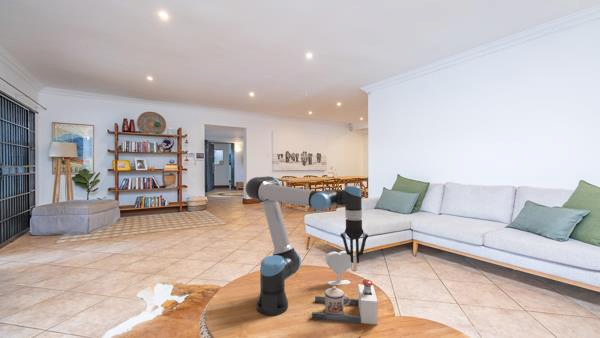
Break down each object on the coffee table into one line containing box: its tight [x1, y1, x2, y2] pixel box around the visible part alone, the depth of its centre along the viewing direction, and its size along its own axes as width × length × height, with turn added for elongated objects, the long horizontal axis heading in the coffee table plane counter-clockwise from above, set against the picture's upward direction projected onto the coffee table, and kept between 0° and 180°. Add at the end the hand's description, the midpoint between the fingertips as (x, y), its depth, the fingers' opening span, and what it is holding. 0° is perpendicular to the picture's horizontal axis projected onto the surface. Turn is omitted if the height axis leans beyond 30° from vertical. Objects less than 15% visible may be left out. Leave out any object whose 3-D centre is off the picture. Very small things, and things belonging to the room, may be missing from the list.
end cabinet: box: [357, 283, 379, 325], centre depth 125 cm, size 7×16×10 cm, turn 172°
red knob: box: [362, 279, 373, 295], centre depth 124 cm, size 4×4×7 cm
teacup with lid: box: [324, 285, 351, 315], centre depth 127 cm, size 12×9×12 cm
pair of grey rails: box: [311, 295, 362, 324], centre depth 127 cm, size 22×16×2 cm
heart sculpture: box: [325, 250, 353, 286], centre depth 158 cm, size 16×5×18 cm, turn 101°
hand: (355, 269), depth 125 cm, fingers closed
